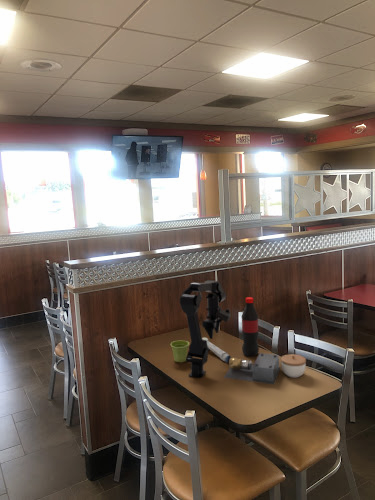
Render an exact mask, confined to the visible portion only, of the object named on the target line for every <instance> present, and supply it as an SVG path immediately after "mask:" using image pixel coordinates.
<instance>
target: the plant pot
mask: <svg viewBox="0 0 375 500" xmlns="http://www.w3.org/2000/svg"><path fill="white" fill-rule="evenodd" d="M170 346H171V349H172V354H173V359H174V362H176V363H185V362H187V361H186V357H187V354H188V350H189V346H190V342H189V341H187V340H174V341H171V343H170Z"/></svg>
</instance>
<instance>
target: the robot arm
mask: <svg viewBox="0 0 375 500" xmlns="http://www.w3.org/2000/svg"><path fill="white" fill-rule="evenodd" d="M193 292H195V293H198V294H192V293H193ZM202 292H206V293H208V294H207V295H206V296H205V298H206V299H207V307H206V311H207V315H206V319H204V320H203V321H202V323H201V326H200V321H199V314H198V311H199V308H200V307H201V306H200V304H201V302H202V300H203V297H202ZM226 297H227V293H226V292H225V291H224V289H223V286H222V284H221V283H220V281H219V280H204V282H191V283H190V284H189V286H188V287H187V288H186V289H184V290H183V291H182V293H181V295H180V298H179V301H178V302H179V306H180V308H181V310H182V311H183V313H185V315H186V320H187V325H188V329H189V330H188V331H189V336H190V343H189V345H188V350H187V357H186V361H185V362H186V363H190V373H189V374H188V377H189V378H190V377H191V378H196V379H197V378H198V379H201V378H203V377H204V376H205V375H206V373H207V371H206V370H205V369H204V365H205V364H206V363H207V362H208V358H209V350H208V346H207V341H206V340H203V339H202V338H203V337H202V333H201V327H202V328H203V329H204V330H205V332H206V334H207V335H208V337H209V339H210V340H212V339H213V338H214V331H215V333H216V334H218V333H219V331H220V326H221V322H222V321H223V322H226V323H227V322H229V320H230V318H231V316H232V313H231V309H228V308H227V309H226V310H223V309H222V307H221V306H220V303H221V302H223V301H224V300H226Z"/></svg>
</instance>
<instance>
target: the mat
mask: <svg viewBox="0 0 375 500" xmlns="http://www.w3.org/2000/svg"><path fill="white" fill-rule="evenodd" d="M253 365H254V363H252V366H253ZM281 369H282V366H281V367H280V366H279V370H278V372H277V375H276V378H275V380H274V383H268V382H261V381H254V380H253V370H252V369H251V370H247V369H241V370H238V369H230V368H229V369H227V370H228V371H227V372H226V373H225V375H224V377H223V378H225V379H231V380H232V379H234V380H239V381H247V382H255V383H261V384H268V385H269V384H270V385H275V383H276V381H277V378H278V375H279V373H280V371H281Z"/></svg>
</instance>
